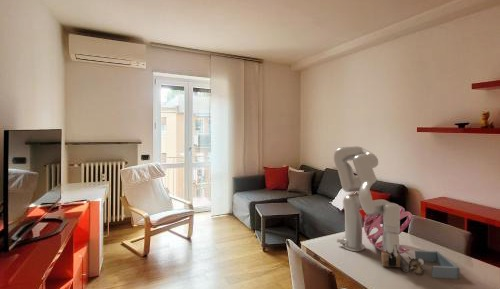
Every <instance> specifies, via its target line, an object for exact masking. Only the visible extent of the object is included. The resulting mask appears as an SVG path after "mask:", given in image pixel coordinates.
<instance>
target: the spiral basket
mask: <svg viewBox="0 0 500 289" xmlns="http://www.w3.org/2000/svg"><path fill="white" fill-rule="evenodd" d="M399 207H400V220H403V219H404V218H405V217H406V220H405V221H404V222H403V223H402V224H400V233H398V234H399V235H400V234H401V233H402V232H404V230H406V228H408V227H409V225H410V224H411V223H412V220H413V218H414V216H413V214H412V213H411V212H410V211H406V210H405V208H404V207H403V206H401V205H399ZM370 221H371V223H370V224H369V225H367V224H368V223H369V222H370ZM382 224H383V214H379V215H373V216H370V215H367V214H366V213H365V215H364V221H363V230H364V233H365V236H366V238H367V240H368V241H369V243H370V244H371V245H372V246H373V247H374V248H376V249H377V250H379V251H380V252H386V250H384V249H382V248H380V247H383V245H382V240H381V241H379V242H378V240H379V238H380V237H383V225H382ZM381 225H382V226H381ZM375 228H376V229H377V231H376V232H375V233H373V234H370V233H371V232H372V230H373V229H375ZM400 250H401V251H400ZM408 251H410V249H409V248H404V247H402V246H401V245H399V254H400V255H401V254H404V253H406V252H408Z"/></svg>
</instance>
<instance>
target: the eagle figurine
mask: <svg viewBox="0 0 500 289" xmlns="http://www.w3.org/2000/svg"><path fill="white" fill-rule="evenodd" d="M408 258H409V262H408V267H410V269H409V270H412V269H414V270H413V271H412V274H413V275H414V276H422V275H423V274H424V267H423V265H424V264H425V263H424V262H425V261H423V260H422V259H420V258H419V260H418V259H417V258H416V259H415V257H413V258H411V257H410V256H408Z"/></svg>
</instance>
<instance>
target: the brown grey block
mask: <svg viewBox="0 0 500 289" xmlns="http://www.w3.org/2000/svg"><path fill="white" fill-rule="evenodd" d="M380 254H381V256H380V260H381V261H380V262H381V265H382V267H391V268H392V267H395V268H400V269H401V270H402V271H403V272H409V265H408V264H409V262H408V261H407V260H406V259H405V258H404V257H403V256H402V255H401V254H399V253H397V255H398V257H396V266H390V265H389V257H390V253H389V252H382V251H380ZM392 254H394V253H392Z"/></svg>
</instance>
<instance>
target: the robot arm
mask: <svg viewBox="0 0 500 289" xmlns="http://www.w3.org/2000/svg"><path fill="white" fill-rule="evenodd" d="M333 161H334V162H333V163H334V164H335V167H336V169H337V172H338V177H339V180H340V184H341V187H342V188H341V189H342V190H343V191H344V192H346V193H351V194H348V195H346V196H345V197H343V200H342V203H343V208H344V237H343V238H341V239H340V238H337V239H336V243H339V244H340V245H341V246H342V247H343V249H345V250H348V251H351V252H362V251H364V250H366V246H365V244H364V243H363V216H362V214H361V213H360V211H361V210H362V211H363V212H364V213H365V215H366V214H367V215H370V216H373V215H378V216H379V215H381V214H383V222H382V226H383V236H381V238H382V240H381V241H382V245H383V246H382V247H383V249H385V251H386V252H389V253H390V257H389V265H390V266H396V257H398V255H397V253H399V252H400V249H399V246H400V236H399V235H400V234H401V233H400V226H401V219H400V207H399V206H400V205H399V204H397V203H395V202H391V201H389V200H386V199H374V200H373V196H372V192H371V190H370V189H371V187H372V186H373V184H375V183H376V182H377V176H376V174H375V171H374V169H375V168H377V166H378V165H379V159H378V157H377V155H375V154H374V153H373V152H371V151H369V150H367V149H366V148H364V147H361V146H359V145H358V146H357V145H355V146H341V147H339V148H337V149H336V150H335V151H334V153H333ZM348 161H350V162H351V161H352V163H353V166H354V169H355V171H356V174H357V175H355V174H354V169H353V167H352V165H351V164H350V163H349V162H348ZM352 192H356V193H352ZM398 233H400V234H398ZM392 253H394V254H392ZM390 266H389V267H390Z"/></svg>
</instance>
